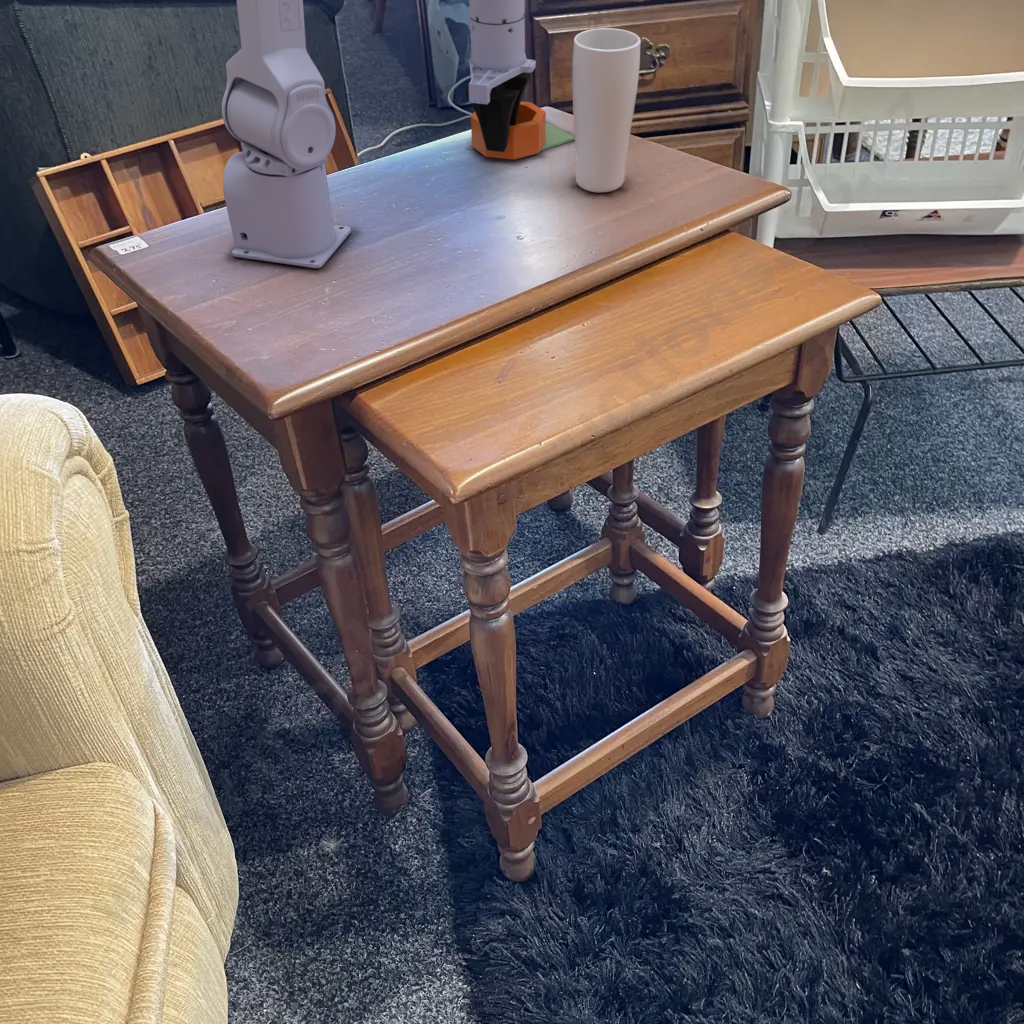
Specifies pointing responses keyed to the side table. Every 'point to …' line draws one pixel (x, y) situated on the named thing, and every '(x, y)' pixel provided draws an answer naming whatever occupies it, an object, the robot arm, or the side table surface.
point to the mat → (555, 137)
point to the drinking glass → (603, 104)
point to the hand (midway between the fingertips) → (499, 144)
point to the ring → (516, 134)
